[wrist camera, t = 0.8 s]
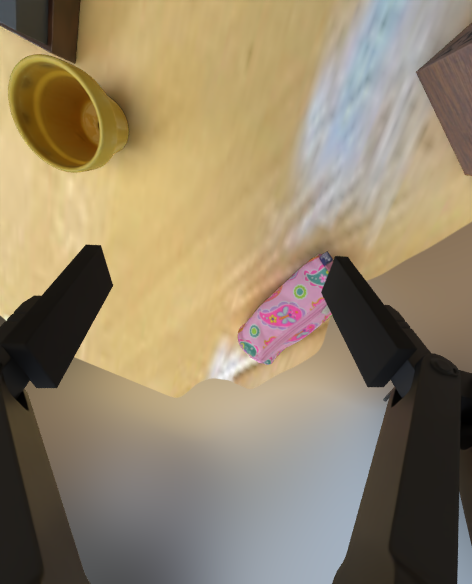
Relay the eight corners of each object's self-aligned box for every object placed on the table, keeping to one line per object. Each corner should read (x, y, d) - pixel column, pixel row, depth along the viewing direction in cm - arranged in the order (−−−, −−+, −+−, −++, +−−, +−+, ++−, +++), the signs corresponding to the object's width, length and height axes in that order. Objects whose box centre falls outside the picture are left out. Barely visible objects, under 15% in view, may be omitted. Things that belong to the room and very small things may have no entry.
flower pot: (150, 164, 36) (115, 169, 28) (87, 169, 38) (35, 175, 29) (131, 73, 31) (80, 45, 23) (58, 82, 33) (-15, 60, 24)
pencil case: (320, 239, 39) (333, 262, 31) (357, 274, 41) (378, 304, 33) (235, 318, 49) (229, 350, 41) (269, 343, 51) (269, 378, 43)
